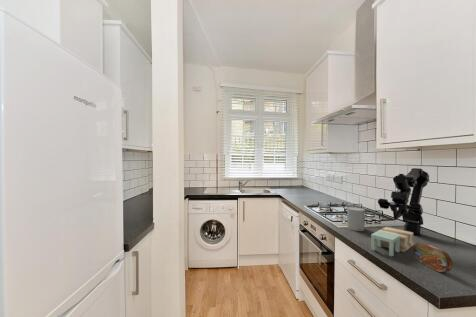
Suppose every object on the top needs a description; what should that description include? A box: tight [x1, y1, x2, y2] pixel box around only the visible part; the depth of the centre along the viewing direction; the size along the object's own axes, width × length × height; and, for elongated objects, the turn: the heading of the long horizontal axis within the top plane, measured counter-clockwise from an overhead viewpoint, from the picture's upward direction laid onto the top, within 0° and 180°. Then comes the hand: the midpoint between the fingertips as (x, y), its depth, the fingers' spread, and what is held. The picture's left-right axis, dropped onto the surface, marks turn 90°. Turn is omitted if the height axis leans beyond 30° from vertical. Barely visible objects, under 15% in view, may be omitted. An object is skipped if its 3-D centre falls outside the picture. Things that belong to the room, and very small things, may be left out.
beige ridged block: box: [375, 226, 414, 253], centre depth 115 cm, size 14×12×6 cm
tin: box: [412, 242, 453, 273], centre depth 92 cm, size 15×3×8 cm, turn 4°
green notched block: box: [370, 230, 401, 257], centre depth 107 cm, size 8×9×9 cm
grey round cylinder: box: [346, 206, 366, 232], centre depth 141 cm, size 10×10×12 cm
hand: (395, 219), depth 115 cm, fingers closed
